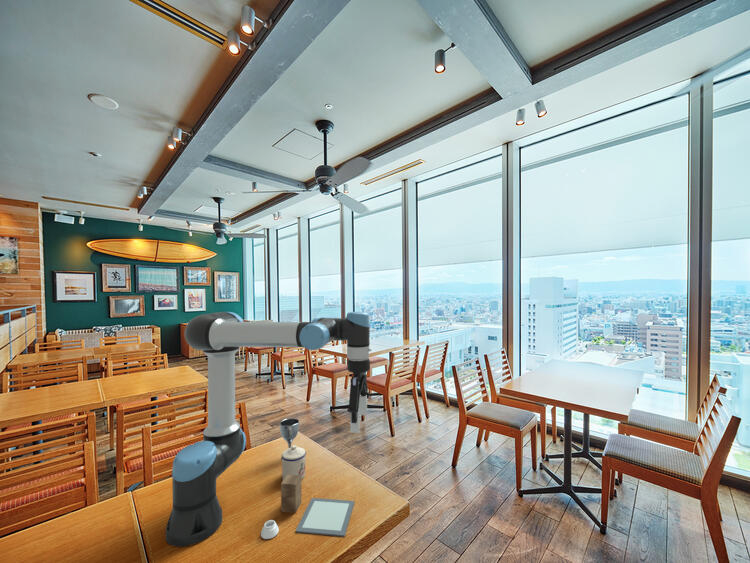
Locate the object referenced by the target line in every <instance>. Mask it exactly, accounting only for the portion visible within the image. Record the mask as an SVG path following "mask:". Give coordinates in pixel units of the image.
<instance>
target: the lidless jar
mask: <svg viewBox="0 0 750 563" xmlns="http://www.w3.org/2000/svg"><path fill="white" fill-rule="evenodd" d="M279 529H280V528H279V526H278V524H277V523H276V521H275V520H273V519H270V520H267V521H265V523H264V525H263V527H262V529H261V531H260V537H261V538H262V539H264V540H268V539H269V540H270V539H272V538H275V537H276V536H277V535H278V533H279V532H280V531H279Z"/></svg>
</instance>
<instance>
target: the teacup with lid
mask: <svg viewBox="0 0 750 563" xmlns="http://www.w3.org/2000/svg"><path fill="white" fill-rule="evenodd" d="M281 457H282V459H281V462H282V464H281V466H282V468H281V469H282V476H281V477H282V481H283V480H284V479H285V477H286V476H287V475H300V476H301V480H303V479H304V478H305V476H306V450H305V449H304V448H303V447H300V446H297V445H296V444H293V445H292V444H291V448H289V447H288V448H287V449H285V450H284V451H283V452H282V454H281Z"/></svg>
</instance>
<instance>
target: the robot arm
mask: <svg viewBox="0 0 750 563" xmlns="http://www.w3.org/2000/svg"><path fill="white" fill-rule="evenodd" d="M370 326H371V325H370V315H369V313H368V312H366V311H349V312H347V313H346V317H342V318H340V317H338V318H337V317H334V318H333V317H320V318H319V317H318V318H314V319H312V320H311V321H244V320H243V318H242V317H241V316H240V315H239V314H238V313H235V312H233V311H232V312H231V311H219V312H212V313H204V314H200V315H197V316H195V317H193V318H192V319H190V321H188V323H187V324H186V326H185V329H184V338H185V339H184V340H185V342H186V343H187V344H188V346H190V347H191V348H192V349H194V350H197V351H202V353H203V354H205V356H207V400H208V401H207V413H208V414H207V415H208V416H207V419H208V420H207V426H206V427H205V428H204V430H203V431H202V433H203V434H202V435H203V438H202V439H203V440H201V441H197V442H194V443H193V444H189V445H187V446H185V447H183V448H182V449H181V450H179V451H178V452H177V454H175V457H174V458H173V462H172V470H171V477H172V478H171V480H172V509H171V512H170V515H169V518H168V520H167V524H166V526H165V542H166V544H168V545H170V546H172V547H176V548H177V547H179V548H180V547H181V548H182V547H183V548H184V547H188V546H192V545H195V544H198V543H200V542H203V541H205V540H206V539H208V538H209V537H210V536H212V535H213V534H214V533H215V532H216V531H217V530H219V528H220V526H221V525H222V523H223V508H222V506H221V504H220V503H219V499H218V496H217V479H218V478H219V477H220V476H221V475H222V474H223V473H224V472H225V471H226V470H227V469H228V468H229V467H230V466H232V465H233V464H234V463H235V462H236V461H237V460H238V459H239V458H240V456H241V455H242V454H243V452H244V450H245V448H246V446H247V445H246V444H247V438H246V434H245V432H244V431H243V429H242V428H241V424H240V423H239V422H238V421H237V420H236V354H237V353H238V351H240V348H241V347H245V348H247V347H248V348H249V347H250V348H256V347H257V348H268V347H269V348H304V349H306V350H310V351H315V350H320V349H322V348H324V347H325V346H326V345H327V344H329V343H330V342H333V341H334V342H335V341H337V342H338V341H346V345H347V346H346V357H347V358H348V359H347V361H346V367H347V368H346V369H347V372H349V373H353V375H352V377H351V378H350V388H349V397H348V398H349V400H348V408H347V409H346V410H347V412H348V413H349V420H350V421H349V422H350V423H349V425H350V426H349V433H350V434H351V433H353V434H359V433H360V416H367V415H368V399H367V398H368V397H367V396H369V395H370V392H369V389H368V382H367V381H368V380H367V372H369V371H370V370H371V361H370V354H371V352H372V348H370V335H371V334H370V330H371V329H370Z"/></svg>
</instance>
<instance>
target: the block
mask: <svg viewBox="0 0 750 563" xmlns="http://www.w3.org/2000/svg"><path fill="white" fill-rule="evenodd" d="M301 504H302V479H301V476H300V475H287V476H286V477H285V479H284V480H283V479H282V482H281V483H280V507H281V508H280V511H281V512H283V513H294V514H295V513H297V512H298V510H299V508H300V506H301Z"/></svg>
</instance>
